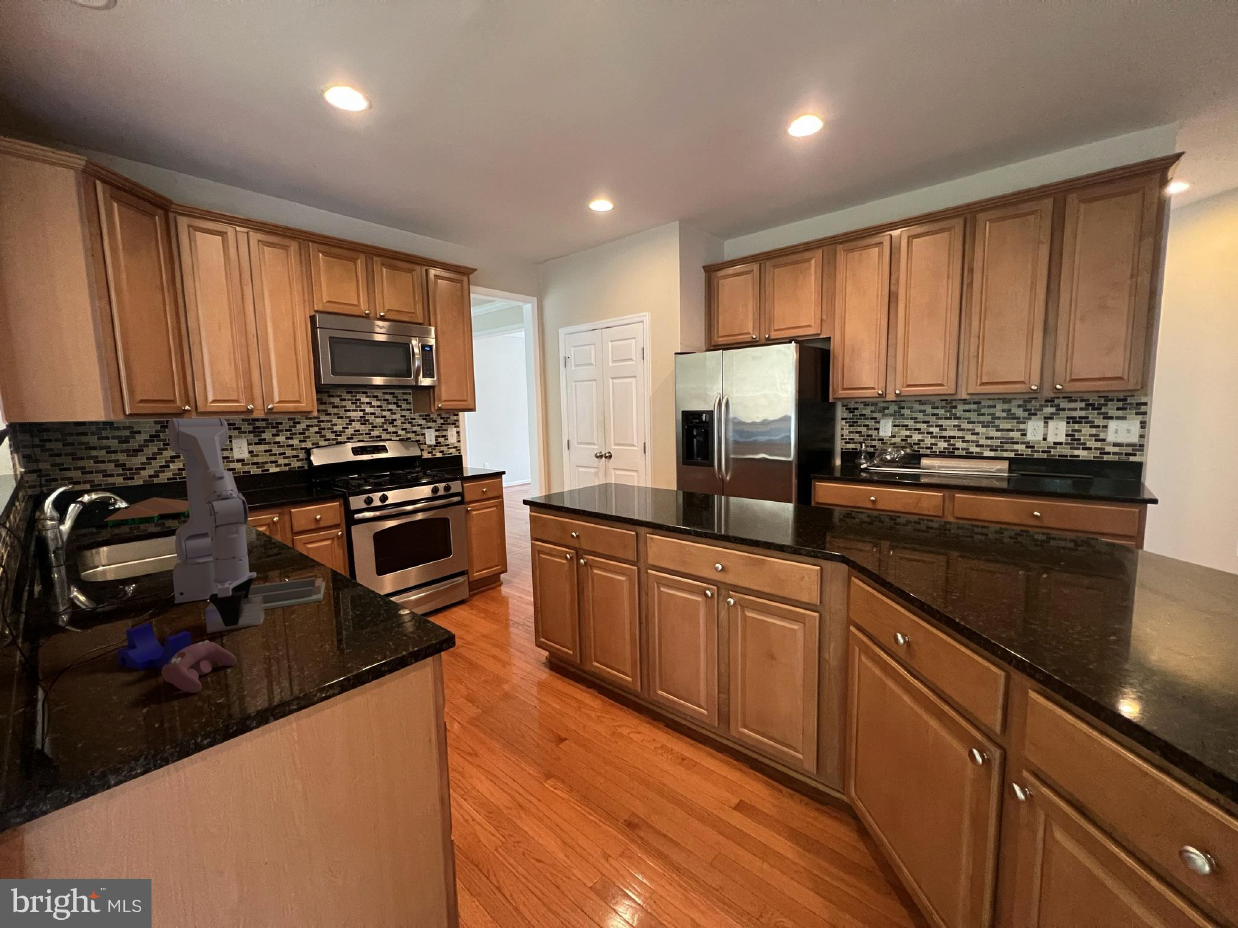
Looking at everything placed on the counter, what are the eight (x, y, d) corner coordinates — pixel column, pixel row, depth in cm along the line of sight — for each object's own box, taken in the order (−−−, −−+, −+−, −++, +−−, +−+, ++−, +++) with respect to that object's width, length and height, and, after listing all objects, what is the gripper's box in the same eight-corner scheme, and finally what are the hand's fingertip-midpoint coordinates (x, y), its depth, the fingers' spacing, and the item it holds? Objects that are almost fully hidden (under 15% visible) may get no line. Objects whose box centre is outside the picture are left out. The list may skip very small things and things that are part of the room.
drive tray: (227, 615, 109) (226, 602, 108) (239, 596, 119) (238, 585, 119) (321, 600, 117) (320, 589, 117) (325, 584, 128) (324, 574, 127)
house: (195, 507, 227) (194, 490, 226) (184, 521, 200) (182, 501, 199) (127, 513, 214) (124, 495, 213) (105, 528, 187) (102, 507, 186)
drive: (207, 633, 100) (205, 610, 100) (212, 626, 104) (210, 603, 103) (261, 624, 104) (259, 602, 104) (264, 617, 108) (262, 595, 107)
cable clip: (119, 665, 88) (115, 633, 87) (149, 653, 92) (146, 623, 91) (163, 677, 84) (160, 643, 84) (193, 664, 88) (190, 632, 88)
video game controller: (218, 672, 88) (196, 639, 87) (241, 660, 88) (219, 627, 87) (173, 705, 79) (148, 669, 78) (200, 691, 79) (175, 655, 78)
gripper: (246, 562, 98) (252, 627, 99) (260, 544, 110) (265, 602, 112) (201, 567, 94) (208, 635, 96) (221, 548, 107) (226, 608, 109)
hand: (236, 618), depth 104 cm, fingers open, 7 cm apart
